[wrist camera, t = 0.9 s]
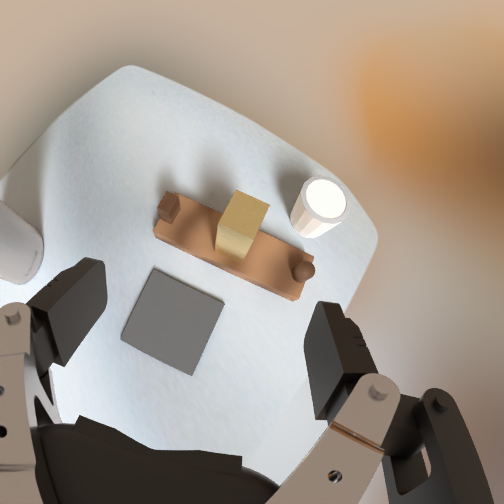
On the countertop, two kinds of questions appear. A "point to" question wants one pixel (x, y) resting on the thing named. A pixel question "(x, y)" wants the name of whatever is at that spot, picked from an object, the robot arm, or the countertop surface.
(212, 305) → the mat
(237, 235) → the pale wooden block
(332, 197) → the white cup
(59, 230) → the countertop surface
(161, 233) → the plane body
